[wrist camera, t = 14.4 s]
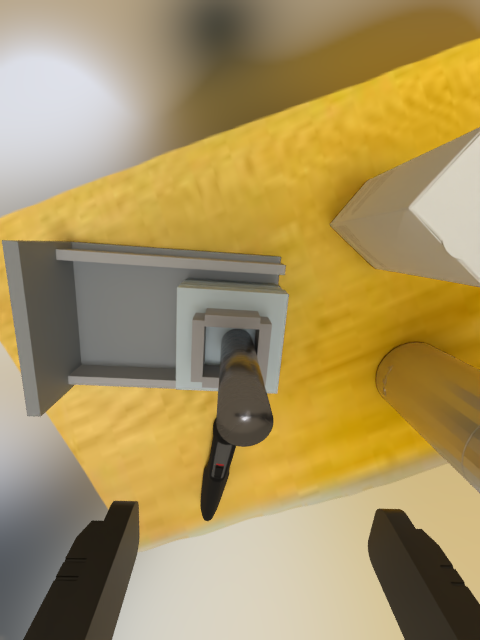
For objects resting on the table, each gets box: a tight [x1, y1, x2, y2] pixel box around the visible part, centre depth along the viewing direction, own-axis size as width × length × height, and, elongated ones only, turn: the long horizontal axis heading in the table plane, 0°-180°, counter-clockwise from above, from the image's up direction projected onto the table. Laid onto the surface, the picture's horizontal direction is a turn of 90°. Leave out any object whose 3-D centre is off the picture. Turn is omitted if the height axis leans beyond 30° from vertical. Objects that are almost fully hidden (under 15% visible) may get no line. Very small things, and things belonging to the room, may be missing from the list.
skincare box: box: [330, 127, 480, 287], centre depth 24 cm, size 8×7×16 cm
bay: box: [2, 240, 286, 416], centre depth 29 cm, size 24×16×9 cm, turn 86°
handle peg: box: [216, 329, 273, 447], centre depth 20 cm, size 3×3×12 cm
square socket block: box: [176, 278, 289, 393], centre depth 28 cm, size 10×10×10 cm
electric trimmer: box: [201, 418, 236, 521], centre depth 39 cm, size 4×16×3 cm, turn 167°
